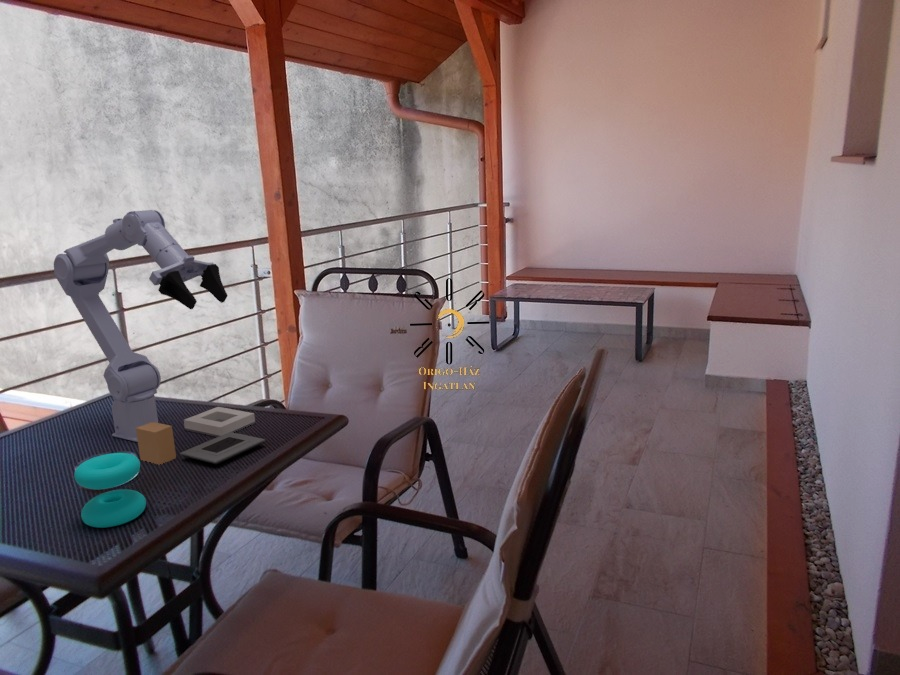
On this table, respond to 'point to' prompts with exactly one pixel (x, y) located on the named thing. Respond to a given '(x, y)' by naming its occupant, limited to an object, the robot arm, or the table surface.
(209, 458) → the electrical outlet
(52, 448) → the table surface
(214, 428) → the socket block
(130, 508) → the donuts
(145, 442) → the plug
